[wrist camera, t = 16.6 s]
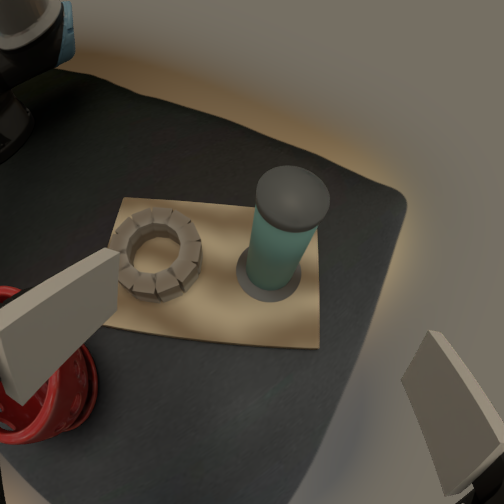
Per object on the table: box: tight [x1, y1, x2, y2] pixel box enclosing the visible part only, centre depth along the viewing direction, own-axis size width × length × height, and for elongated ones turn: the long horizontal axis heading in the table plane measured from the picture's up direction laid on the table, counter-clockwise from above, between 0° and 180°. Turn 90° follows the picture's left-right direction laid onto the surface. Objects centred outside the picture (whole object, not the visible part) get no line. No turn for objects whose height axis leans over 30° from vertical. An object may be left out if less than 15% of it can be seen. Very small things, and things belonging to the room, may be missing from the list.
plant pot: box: [0, 286, 98, 445], centre depth 20 cm, size 13×13×12 cm
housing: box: [102, 197, 319, 350], centre depth 31 cm, size 16×24×4 cm, turn 86°
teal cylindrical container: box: [246, 166, 330, 291], centre depth 26 cm, size 5×5×13 cm
